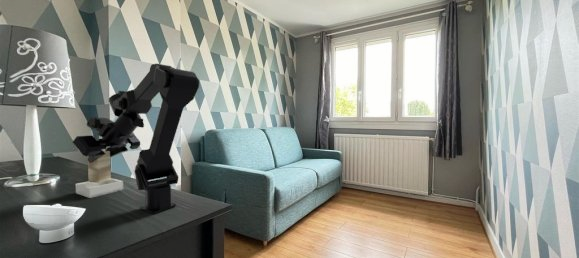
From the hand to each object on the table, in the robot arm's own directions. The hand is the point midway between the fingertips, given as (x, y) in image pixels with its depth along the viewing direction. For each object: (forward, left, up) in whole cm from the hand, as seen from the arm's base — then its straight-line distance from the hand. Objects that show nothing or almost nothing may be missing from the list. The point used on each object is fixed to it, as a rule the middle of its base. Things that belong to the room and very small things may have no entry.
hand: (95, 160), depth 78 cm
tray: (-1, 0, -10) cm, 10 cm away
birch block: (-1, 0, -7) cm, 7 cm away
